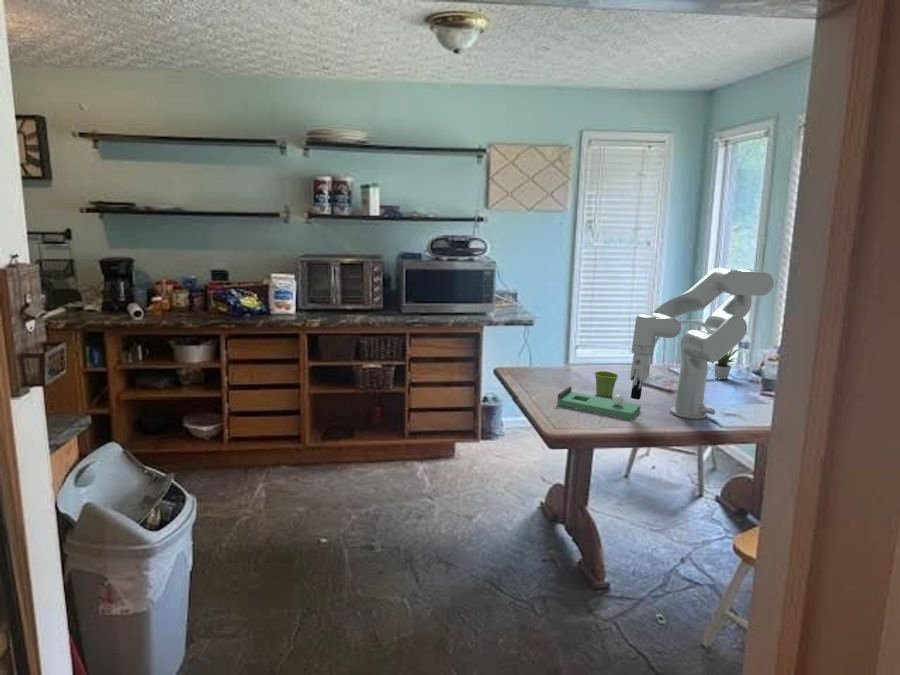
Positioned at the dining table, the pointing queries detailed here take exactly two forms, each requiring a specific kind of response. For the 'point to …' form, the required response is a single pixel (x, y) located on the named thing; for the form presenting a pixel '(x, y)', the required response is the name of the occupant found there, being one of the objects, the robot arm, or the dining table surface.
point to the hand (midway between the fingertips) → (635, 398)
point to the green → (597, 404)
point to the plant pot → (605, 383)
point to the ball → (618, 400)
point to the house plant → (724, 366)
